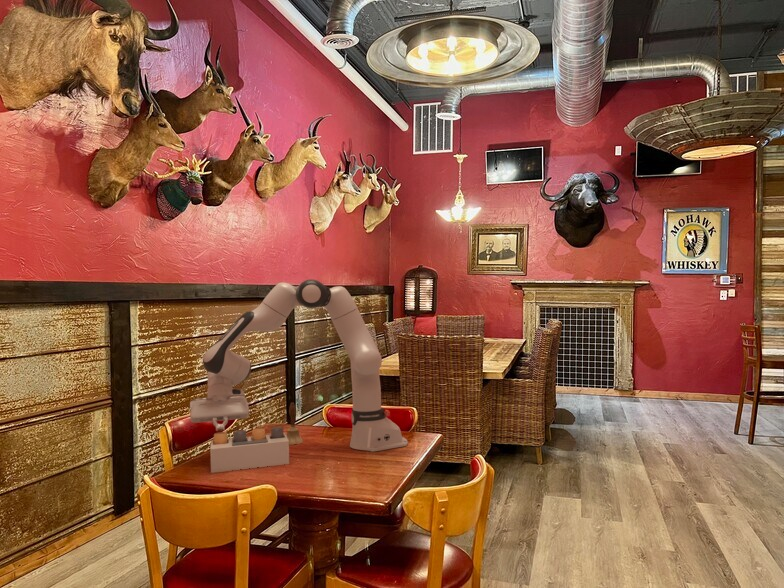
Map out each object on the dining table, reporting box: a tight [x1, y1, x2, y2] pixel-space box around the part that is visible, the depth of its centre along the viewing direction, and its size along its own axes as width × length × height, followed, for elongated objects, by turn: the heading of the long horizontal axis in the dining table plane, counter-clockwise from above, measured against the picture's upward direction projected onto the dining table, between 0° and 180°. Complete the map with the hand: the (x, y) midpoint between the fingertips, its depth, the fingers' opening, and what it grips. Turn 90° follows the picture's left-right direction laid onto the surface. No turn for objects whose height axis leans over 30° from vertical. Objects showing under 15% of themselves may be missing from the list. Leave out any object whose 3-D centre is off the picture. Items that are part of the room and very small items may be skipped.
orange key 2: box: [251, 427, 266, 440], centre depth 194 cm, size 4×4×6 cm
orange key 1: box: [213, 431, 228, 445], centre depth 190 cm, size 4×4×6 cm
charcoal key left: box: [270, 426, 284, 439], centre depth 196 cm, size 4×4×6 cm
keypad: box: [209, 432, 290, 474], centre depth 191 cm, size 26×12×8 cm, turn 107°
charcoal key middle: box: [232, 429, 247, 442], centre depth 192 cm, size 4×4×6 cm
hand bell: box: [286, 402, 304, 446], centre depth 218 cm, size 8×8×16 cm
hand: (220, 429), depth 191 cm, fingers closed
